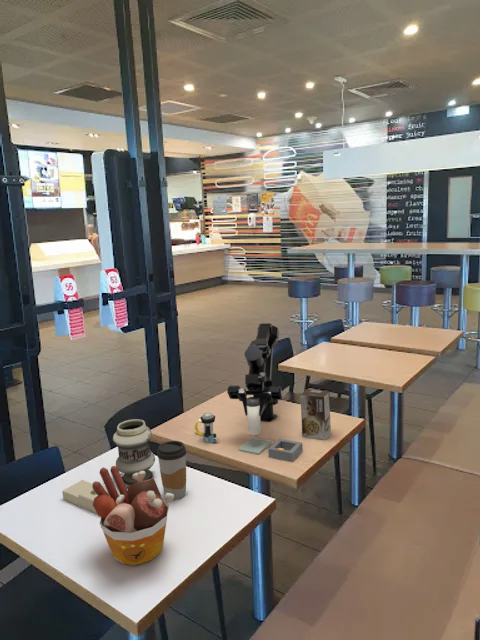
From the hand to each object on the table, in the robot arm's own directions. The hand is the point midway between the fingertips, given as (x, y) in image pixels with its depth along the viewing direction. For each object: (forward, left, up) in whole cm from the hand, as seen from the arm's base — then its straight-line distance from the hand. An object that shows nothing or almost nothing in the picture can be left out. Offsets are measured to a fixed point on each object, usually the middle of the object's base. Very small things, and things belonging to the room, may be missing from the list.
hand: (253, 415), depth 171 cm
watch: (-3, -23, -12) cm, 27 cm away
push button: (+1, -17, -12) cm, 21 cm away
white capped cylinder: (-1, 0, -7) cm, 7 cm away
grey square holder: (0, +12, -12) cm, 17 cm away
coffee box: (-18, +16, -12) cm, 27 cm away
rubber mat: (-1, 0, -12) cm, 12 cm away
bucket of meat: (+61, 0, -12) cm, 62 cm away
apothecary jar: (+33, -24, -12) cm, 43 cm away
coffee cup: (+36, -7, -12) cm, 39 cm away
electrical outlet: (+49, -27, -13) cm, 57 cm away
